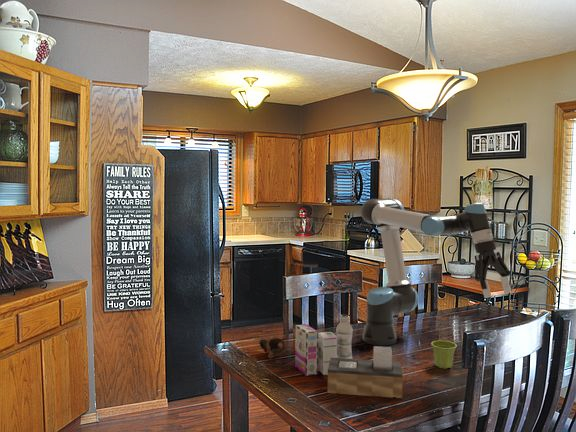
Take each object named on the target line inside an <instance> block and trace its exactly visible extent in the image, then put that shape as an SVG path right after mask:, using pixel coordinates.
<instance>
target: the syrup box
mask: <svg viewBox="0 0 576 432" xmlns="http://www.w3.org/2000/svg"><path fill="white" fill-rule="evenodd" d="M337 347H338V343H337V334H335V333H334V332H332V331H322V332H318V368H317V371H318V372H319V373H321V374H322V375H323V376H328V367H329V362H330V358H337Z"/></svg>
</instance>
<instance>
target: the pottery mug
mask: <svg viewBox="0 0 576 432" xmlns="http://www.w3.org/2000/svg"><path fill="white" fill-rule="evenodd" d="M280 343H282V345H281V346H280V345H279V344H280ZM258 345H259V347H260V348H261V349H262V350H263V351H264V353H267V352H268V355H267V357H268V358H269V359H270V360H271V359H272V358H273V357H277V356H282V354H283V353H285V351H287V347H286V344H285V341H284V340H283V339H282V338H281V337H276V336H274V337H270V338H269V339H268V340H267V339H266V338H265V339H264V338H262V339H260V340H259V343H258Z"/></svg>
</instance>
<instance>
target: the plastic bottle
mask: <svg viewBox="0 0 576 432" xmlns="http://www.w3.org/2000/svg"><path fill="white" fill-rule="evenodd" d="M339 321H340V322H339V323H338V324H337V326H336V329H335V330H336V331H335V332H336V336H337V358H346V359H354V358H353V353H352V341H353V340H352V339H353V332H354V328H353V326H352V325H351V323H350V321H351V319H350V315H348V314H341V315H339Z"/></svg>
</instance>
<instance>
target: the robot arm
mask: <svg viewBox="0 0 576 432" xmlns="http://www.w3.org/2000/svg"><path fill="white" fill-rule="evenodd" d="M360 215H361V218H362V219H363V221H364V222H366V223H368V224H372V225H375V226H376V229H377V230H378V231H379V232H380V235H381V237H380V238H381V244H382V249H383V256H384V263H385V268H386V269H385V270H386V275H387V283H386V284H385V286H380V287H379V286H378V287H373V288H371V289H369V290H368V292H367V293H366V294H367V295H366V296H367V297H366V324H365V327H364V329H363V333H362V341H363V342H364V343H366V344H369V345H373V346H381V347H384V346H393V345H394V344H396V343H397V341H398V340H397V339H398V337H397V334H396V330H395V327H394V316H397V315H401V314H407V313H409V312H413V311H414V310H415V309H416V308H417V306H418V303H419V294H418V292H417V290H416V289H415V288H414V287H413V286H412V283H411V282H410V281H409V280H408V278H407V271H406V265H405V260H404V259H405V258H404V252H403V246H402V240H401V235H400V234H401V232H400V228H402V229H407V230H409V231H410V230H411V231H415V232H420V233H423V234H425V235H426V236H428V237H437V236H447V237H451V236H457V235H458V234H462V233H465V232H467V231H470V234H471V238H472V243H473V244H474V249H475V253H476V254H477V255H475V256H474V261H475V262H474V264H475V267H474V279H475V280H476V282H479V284H480V288H481V291H482V294H483V297H484V299H488V298H489V299H490V298H493V296H492V292H491V289H490V284H489V281H488V279H487V274H488V270H489V269H488V268H489V267H490V266H491V267H493V268H494V270H495V271H496V272H497V274H498V275H499V276H500V277H499V279H500V283H501V286H502V289H503V294H504V295H505V294H511V293H512V289H511V286H510V281H509V278H508V276H510V274H511V271H510V270H509V268H508V266H507V264H506V263H505V261H504V260H503V257H502V256H501V253H500V251H496V252H495V250H497V246H496V243H495V240H493V239H494V236H493V231H492V228H491V226H490V225H491V224H490V223H489V218H488V212H487V210H486V208H485V205H484V203H482V202H474V203H471V204H468V205H466V206H464V212H462V213H458V214H454V215H444V216H440V215H439V216H438V215H437V216H436V215H431V214H426V213H422V212H415V211H410V210H406V209H405V207H404V205H403V204H402V203H401V201H399V200H398V199H395V198H389V197H388V198H370V199H367V200H366V201H365V202H364V203H363V204H362V206H361V208H360Z"/></svg>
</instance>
